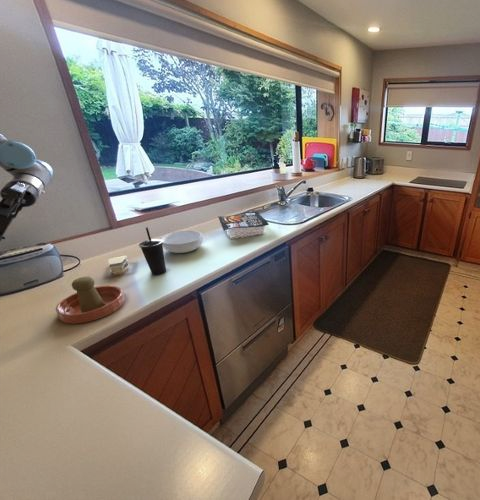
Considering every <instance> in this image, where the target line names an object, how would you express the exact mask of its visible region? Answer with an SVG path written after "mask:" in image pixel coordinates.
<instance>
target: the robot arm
mask: <svg viewBox="0 0 480 500" xmlns="http://www.w3.org/2000/svg"><path fill="white" fill-rule="evenodd" d="M0 168H2V169H3V170H4V171H5V172H7V173H9V174H10V175H11V177H10V178H9V180H8V181H6V183H5V185H4V186H3V187H2V188H1V189H0V197H1V200H0V242H1V241H2V240H6V237H5V234H6V232H7V230H8V229H9V227H10V225H11V224H12V222H13V220H14V219H16V218H17V217H18V214H19V213H20V212H21V211H23V208H29V207H32V206H33V205H35V204H36V202H37V201H38V199H39V198H40V196H41V194H45V193H46V191H45V188H46V186H47V185H48V184H49V183H50V182H51V180H52V178H53V174H54V171H53V168H52V167H51V166H50V164H48V163H47V162H45V161H43V160H41V159H37V155H36V154H35V152H34V150H33V149H32V148H31V147H30V146H28V145H26V144H24V143H23V142H20V141H16V140H10V139H7V138H6V137H5V136H4V135H3V134H1V133H0Z"/></svg>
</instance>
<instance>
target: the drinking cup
mask: <svg viewBox="0 0 480 500" xmlns="http://www.w3.org/2000/svg"><path fill="white" fill-rule="evenodd" d="M145 231H146V235H147V238H148V239H146V240H143V241H141V242H139V244H138V246H139V248H140V249H141V251H142V254H143V257H144V259H145V262H146V263H147V266H148V268H149V270H150V273H151V275H153V276H161V275H163V274H165V273H166V272H167V266H166V260H165V253H164V247H163V245H162V243H163V241H162V240H161V239H160V238H152V237H151V234H150V230H149V228H148V226H145Z"/></svg>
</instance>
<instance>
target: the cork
mask: <svg viewBox="0 0 480 500" xmlns="http://www.w3.org/2000/svg"><path fill="white" fill-rule="evenodd" d="M71 287H72V289H73V290H74V291H76V293H77V295H78V299H79V304H80V308H81V312H82V313H84V312H89V311H92V310H95V309H98V308H101V307H103V306H105V303H104V302H103V300H102V298H101V297H100V295H99V294H98V292H97V291H96V289H95V287H96V286H95V279H94V278H93V277H90V276H81V277H79V278H76V279H74V280H73V281H72V282H71Z"/></svg>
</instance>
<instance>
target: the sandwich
mask: <svg viewBox="0 0 480 500" xmlns="http://www.w3.org/2000/svg"><path fill="white" fill-rule="evenodd" d="M107 261H108V265H109V268H110V271H111V273H113V275H114V276H115V275H122V274H125V273H126V272H125V271H126V269H127V268H128V267H129V266H130V262H129V258H128V255H120V256H116V257H115V256H114V257H111V258H109V259H108V260H107Z"/></svg>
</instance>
